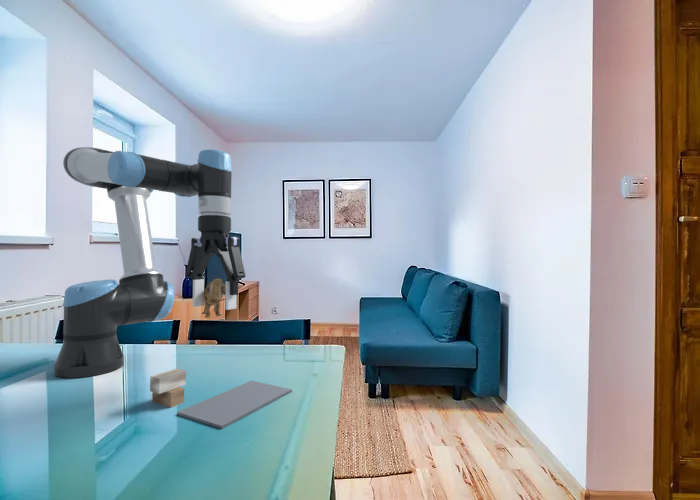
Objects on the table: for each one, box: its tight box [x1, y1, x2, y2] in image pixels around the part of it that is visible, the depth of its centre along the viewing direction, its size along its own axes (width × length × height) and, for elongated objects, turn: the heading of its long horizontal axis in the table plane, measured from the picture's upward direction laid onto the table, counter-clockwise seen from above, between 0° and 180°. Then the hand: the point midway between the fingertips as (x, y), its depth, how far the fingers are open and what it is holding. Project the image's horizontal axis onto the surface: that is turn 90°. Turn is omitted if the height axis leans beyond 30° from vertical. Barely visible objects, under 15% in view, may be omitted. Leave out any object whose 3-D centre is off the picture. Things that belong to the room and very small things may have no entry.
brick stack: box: [149, 368, 187, 408], centre depth 76 cm, size 6×6×6 cm
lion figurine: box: [201, 278, 226, 319], centre depth 89 cm, size 15×5×9 cm, turn 33°
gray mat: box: [176, 380, 293, 430], centre depth 76 cm, size 12×20×1 cm, turn 152°
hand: (214, 307), depth 88 cm, fingers closed on lion figurine, 10 cm apart
